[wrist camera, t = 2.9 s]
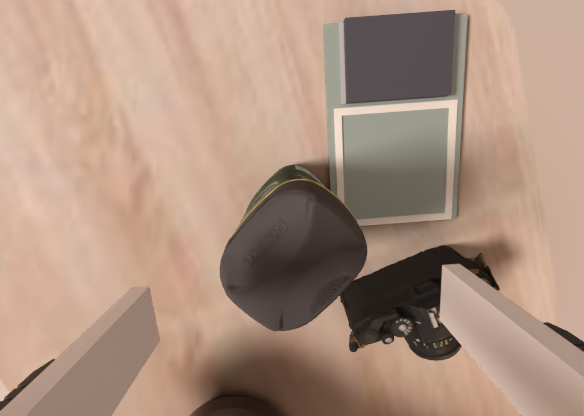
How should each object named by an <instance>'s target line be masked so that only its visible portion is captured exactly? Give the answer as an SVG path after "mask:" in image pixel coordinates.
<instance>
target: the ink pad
mask: <svg viewBox="0 0 584 416" xmlns="http://www.w3.org/2000/svg"><path fill="white" fill-rule="evenodd" d="M454 25H455V10H447V11H434V12H420V13H406V14H392V15H379V16H365V17H351V18H345V20H344V22H339V34H340V65H341V96H342V104H353V103H367V102H381V101H394V100H408V99H421V98H435V97H448V96H450V95H451V89H452V68H453V47H454Z"/></svg>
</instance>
